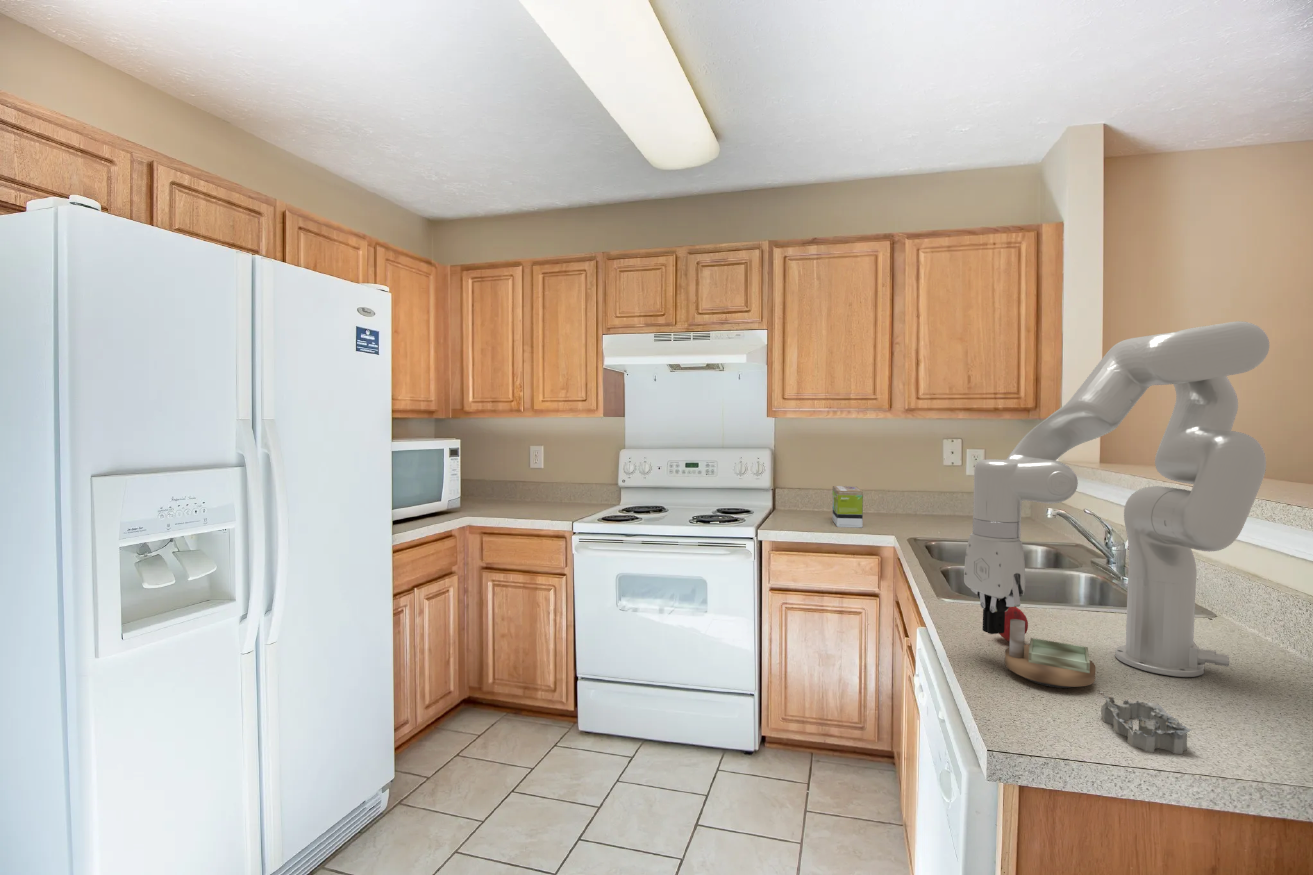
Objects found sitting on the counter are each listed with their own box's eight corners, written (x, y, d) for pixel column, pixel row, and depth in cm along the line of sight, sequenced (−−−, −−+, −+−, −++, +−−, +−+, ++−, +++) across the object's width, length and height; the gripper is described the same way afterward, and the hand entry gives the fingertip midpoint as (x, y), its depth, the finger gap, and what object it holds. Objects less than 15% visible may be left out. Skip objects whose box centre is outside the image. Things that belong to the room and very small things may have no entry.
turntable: (1093, 665, 111) (1095, 619, 111) (1097, 693, 100) (1099, 642, 100) (1007, 650, 118) (1008, 607, 118) (1002, 674, 107) (1003, 626, 106)
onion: (1032, 648, 123) (1033, 606, 122) (999, 646, 124) (1000, 604, 123) (1021, 638, 128) (1022, 598, 128) (989, 636, 129) (990, 596, 129)
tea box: (831, 521, 267) (832, 485, 267) (856, 521, 266) (857, 485, 265) (836, 527, 252) (837, 489, 252) (863, 528, 251) (864, 490, 250)
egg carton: (1094, 715, 96) (1094, 688, 96) (1151, 721, 95) (1152, 693, 94) (1131, 752, 86) (1132, 721, 85) (1196, 758, 84) (1197, 727, 84)
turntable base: (1076, 674, 110) (1076, 669, 110) (1077, 692, 103) (1077, 685, 103) (1022, 665, 114) (1022, 659, 114) (1020, 680, 108) (1020, 674, 108)
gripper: (949, 523, 121) (947, 620, 122) (1010, 538, 106) (1006, 648, 107) (984, 521, 122) (981, 617, 123) (1048, 536, 108) (1045, 645, 109)
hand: (993, 631), depth 115 cm, fingers closed
